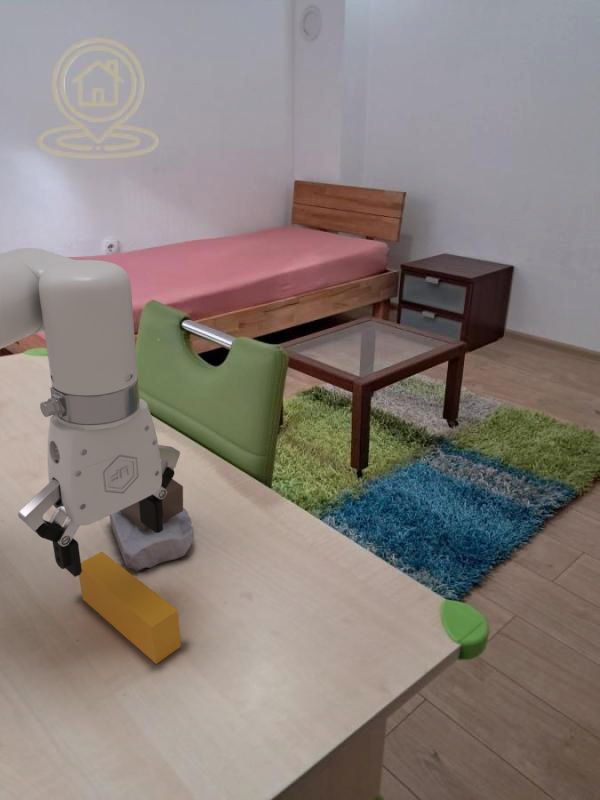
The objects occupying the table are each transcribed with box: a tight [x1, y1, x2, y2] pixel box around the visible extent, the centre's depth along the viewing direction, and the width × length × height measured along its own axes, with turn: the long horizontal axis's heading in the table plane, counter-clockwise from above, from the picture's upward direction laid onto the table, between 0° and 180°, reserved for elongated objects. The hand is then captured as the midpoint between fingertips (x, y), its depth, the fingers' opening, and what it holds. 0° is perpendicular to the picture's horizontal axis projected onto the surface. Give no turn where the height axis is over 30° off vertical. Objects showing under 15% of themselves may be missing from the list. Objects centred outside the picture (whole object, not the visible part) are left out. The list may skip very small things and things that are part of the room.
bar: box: [78, 551, 182, 665], centre depth 69 cm, size 3×14×5 cm, turn 48°
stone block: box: [108, 507, 195, 572], centre depth 83 cm, size 12×5×10 cm
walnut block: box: [120, 478, 184, 531], centre depth 81 cm, size 6×6×4 cm
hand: (113, 546), depth 66 cm, fingers open, 9 cm apart
